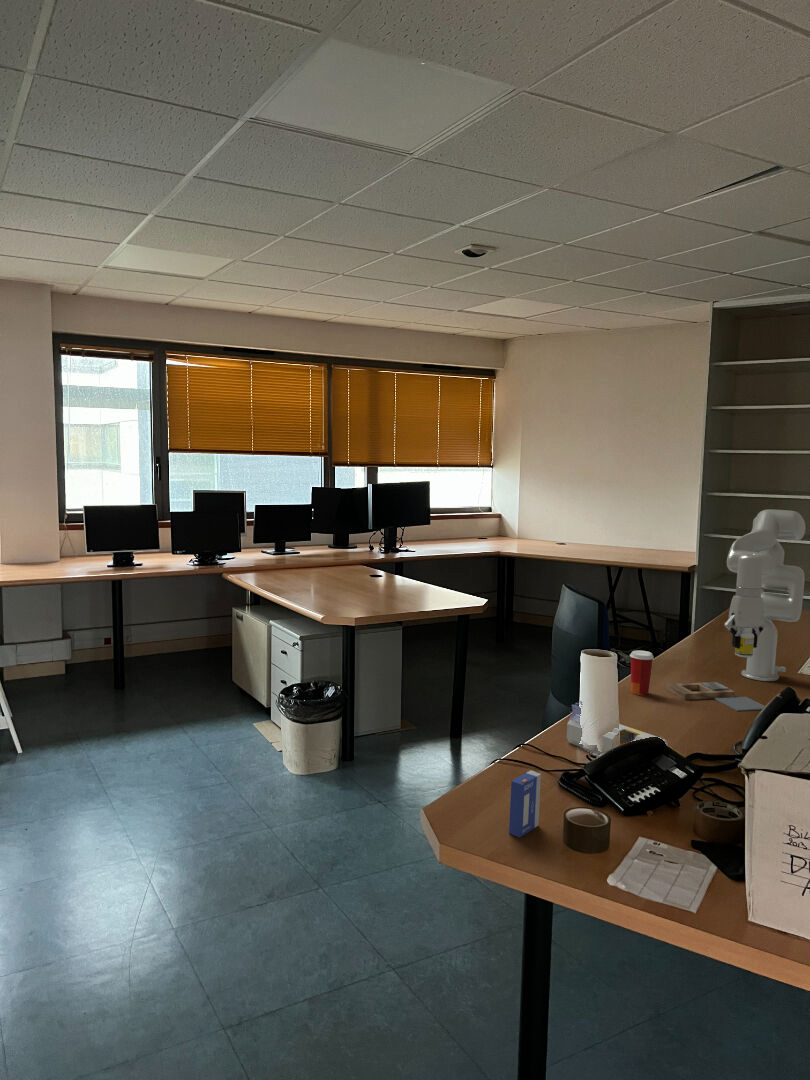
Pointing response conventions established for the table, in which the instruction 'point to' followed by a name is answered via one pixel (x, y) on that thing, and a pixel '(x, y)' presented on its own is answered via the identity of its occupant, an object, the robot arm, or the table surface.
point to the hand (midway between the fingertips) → (744, 646)
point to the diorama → (625, 735)
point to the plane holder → (700, 690)
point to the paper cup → (640, 672)
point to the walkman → (524, 803)
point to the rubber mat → (740, 703)
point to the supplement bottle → (745, 643)
